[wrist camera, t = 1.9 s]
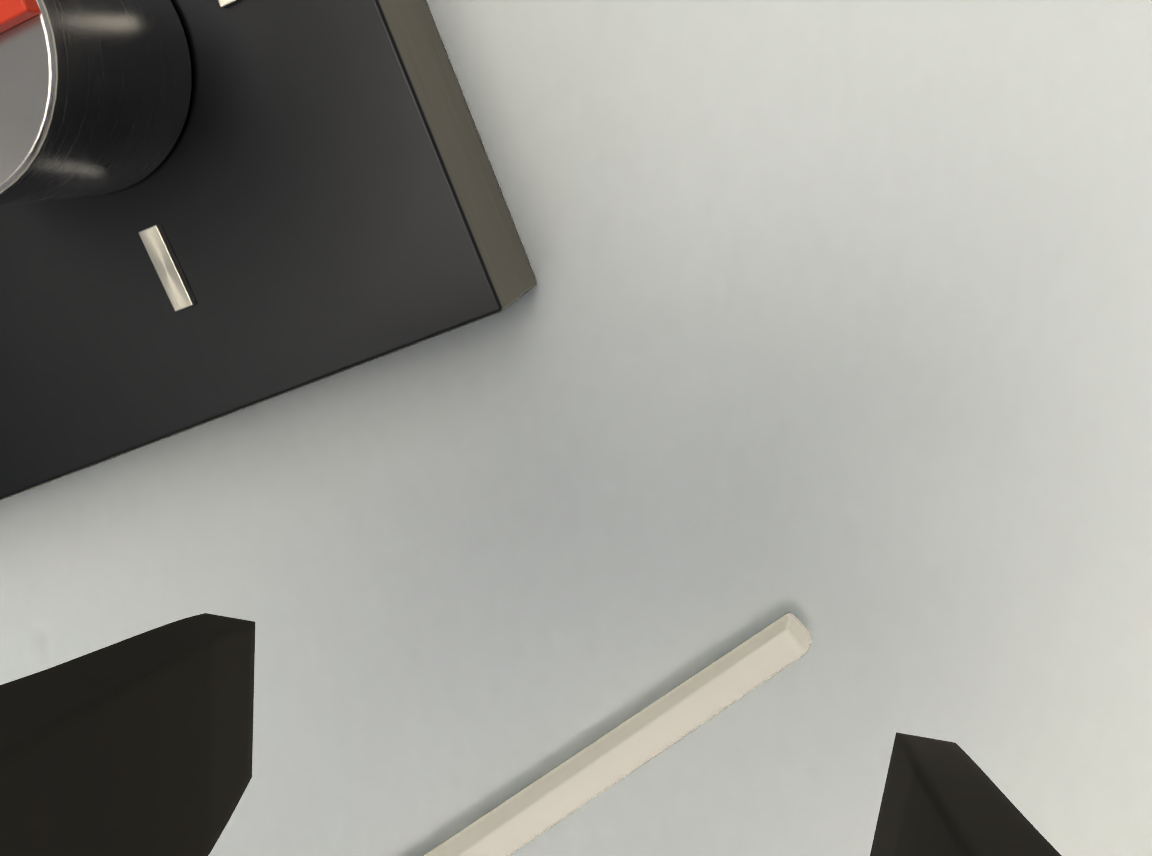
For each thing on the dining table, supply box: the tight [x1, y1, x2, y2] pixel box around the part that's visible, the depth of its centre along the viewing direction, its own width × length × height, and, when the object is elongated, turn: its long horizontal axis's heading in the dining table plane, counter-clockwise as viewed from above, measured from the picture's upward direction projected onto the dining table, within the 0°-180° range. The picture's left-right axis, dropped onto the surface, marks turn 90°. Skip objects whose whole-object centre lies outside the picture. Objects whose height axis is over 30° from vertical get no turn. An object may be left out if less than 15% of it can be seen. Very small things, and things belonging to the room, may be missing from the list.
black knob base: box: [0, 0, 536, 500], centre depth 19 cm, size 14×10×3 cm
